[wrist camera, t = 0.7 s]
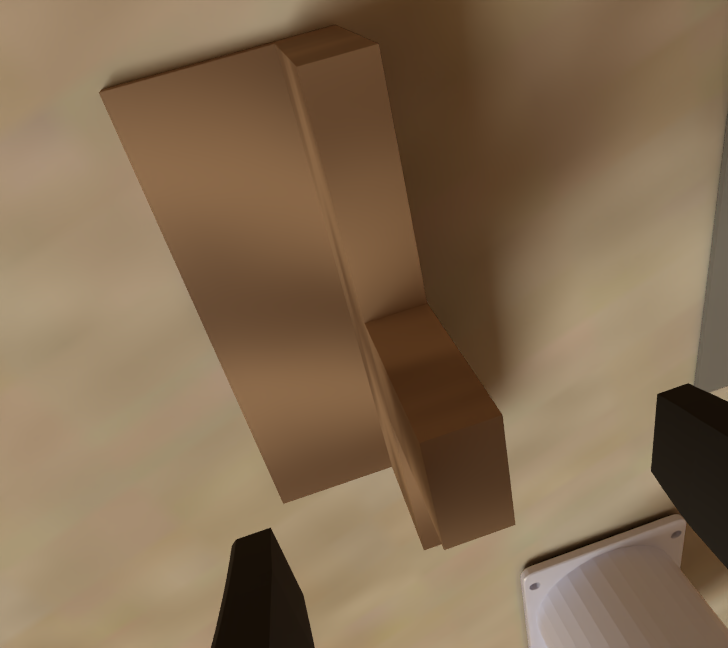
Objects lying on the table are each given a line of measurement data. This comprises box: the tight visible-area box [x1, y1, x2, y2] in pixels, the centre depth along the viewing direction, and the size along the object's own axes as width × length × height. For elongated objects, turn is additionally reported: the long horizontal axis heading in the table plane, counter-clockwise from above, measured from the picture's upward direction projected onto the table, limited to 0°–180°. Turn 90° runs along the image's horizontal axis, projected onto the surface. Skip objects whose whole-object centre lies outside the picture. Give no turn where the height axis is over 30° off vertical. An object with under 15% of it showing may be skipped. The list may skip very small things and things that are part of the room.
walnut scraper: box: [99, 25, 515, 550], centre depth 14 cm, size 14×6×8 cm, turn 12°
